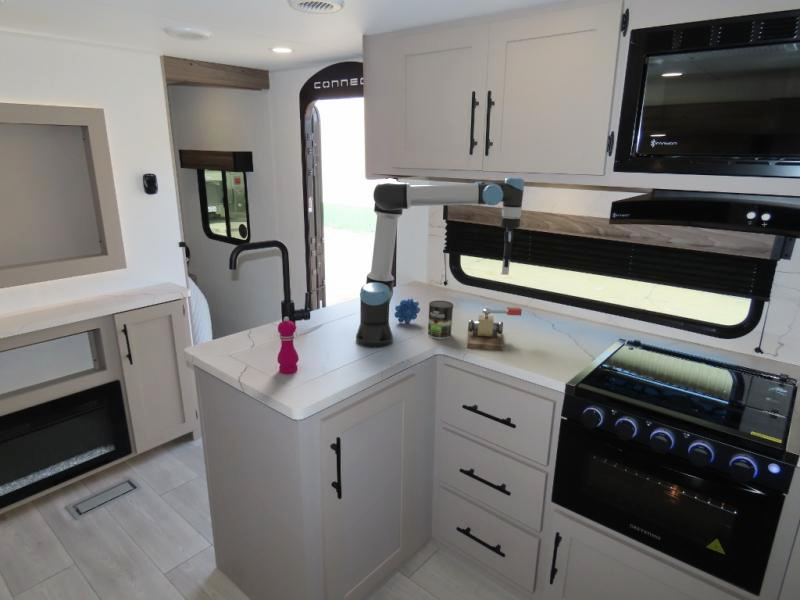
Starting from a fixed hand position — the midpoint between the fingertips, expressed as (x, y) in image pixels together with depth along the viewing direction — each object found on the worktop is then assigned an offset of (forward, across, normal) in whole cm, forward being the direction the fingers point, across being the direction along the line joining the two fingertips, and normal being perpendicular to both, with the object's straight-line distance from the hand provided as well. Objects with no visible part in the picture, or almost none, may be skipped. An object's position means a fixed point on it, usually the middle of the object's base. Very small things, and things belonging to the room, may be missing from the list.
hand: (505, 274), depth 202 cm
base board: (+28, +7, -6) cm, 29 cm away
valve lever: (+15, +6, 0) cm, 17 cm away
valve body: (+26, +7, -6) cm, 27 cm away
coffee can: (+28, +5, -25) cm, 38 cm away
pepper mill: (+29, +53, -74) cm, 96 cm away
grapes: (+28, -7, -41) cm, 51 cm away
